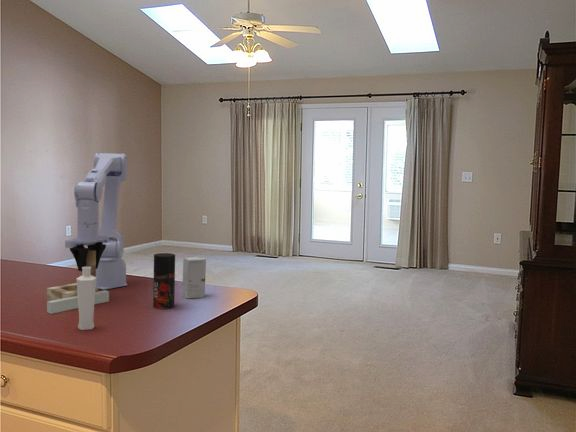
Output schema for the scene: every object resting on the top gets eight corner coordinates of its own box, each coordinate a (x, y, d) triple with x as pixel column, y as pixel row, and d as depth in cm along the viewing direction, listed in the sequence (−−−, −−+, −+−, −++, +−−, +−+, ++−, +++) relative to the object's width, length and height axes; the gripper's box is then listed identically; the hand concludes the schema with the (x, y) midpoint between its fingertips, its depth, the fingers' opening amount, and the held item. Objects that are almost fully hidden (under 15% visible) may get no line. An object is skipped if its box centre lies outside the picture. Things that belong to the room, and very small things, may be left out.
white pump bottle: (79, 324, 130) (79, 265, 128) (97, 324, 130) (97, 265, 129) (73, 330, 125) (73, 269, 124) (91, 330, 126) (92, 269, 124)
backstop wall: (104, 300, 154) (104, 290, 153) (108, 301, 153) (109, 291, 152) (46, 312, 139) (46, 301, 139) (51, 313, 138) (51, 302, 138)
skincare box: (187, 299, 158) (188, 260, 157) (181, 296, 162) (182, 257, 161) (205, 297, 162) (206, 258, 161) (199, 294, 166) (200, 256, 165)
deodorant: (178, 305, 151) (179, 254, 150) (167, 310, 146) (167, 257, 144) (160, 302, 153) (161, 252, 152) (148, 307, 148) (149, 255, 146)
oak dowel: (94, 276, 154) (94, 249, 153) (97, 278, 150) (97, 251, 150) (80, 277, 152) (80, 250, 151) (82, 279, 148) (82, 252, 147)
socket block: (78, 295, 158) (78, 282, 158) (98, 301, 152) (98, 287, 152) (46, 301, 150) (46, 288, 149) (66, 307, 144) (66, 293, 144)
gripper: (97, 220, 158) (97, 264, 159) (57, 224, 145) (57, 272, 146) (114, 222, 155) (114, 267, 156) (75, 226, 142) (75, 275, 143)
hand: (88, 269), depth 151 cm, fingers closed on oak dowel, 4 cm apart
